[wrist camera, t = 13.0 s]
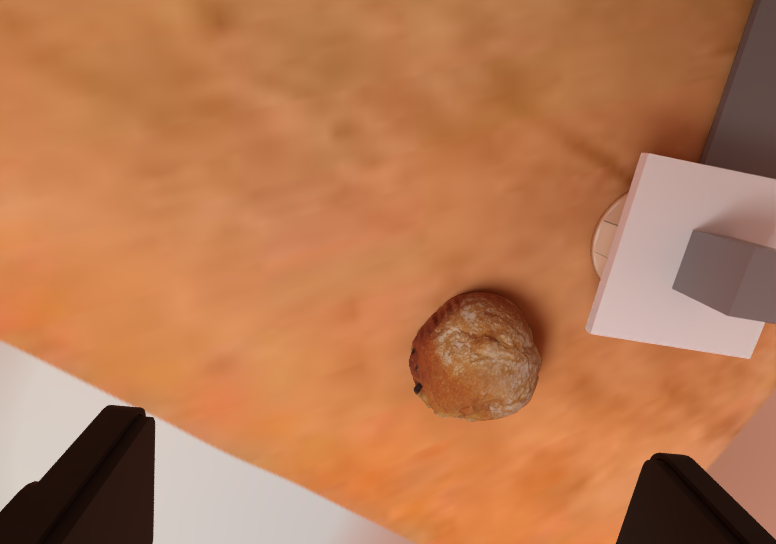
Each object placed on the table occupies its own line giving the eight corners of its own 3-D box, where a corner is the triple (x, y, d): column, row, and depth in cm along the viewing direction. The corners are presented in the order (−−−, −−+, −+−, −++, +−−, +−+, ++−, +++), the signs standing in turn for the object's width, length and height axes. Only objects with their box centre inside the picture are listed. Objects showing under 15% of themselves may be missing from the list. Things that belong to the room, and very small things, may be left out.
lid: (641, 152, 30) (706, 157, 25) (810, 187, 32) (908, 199, 26) (584, 329, 33) (631, 368, 28) (741, 353, 35) (815, 396, 29)
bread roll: (517, 356, 44) (587, 376, 37) (437, 436, 40) (498, 475, 33) (464, 268, 41) (528, 270, 34) (374, 346, 38) (424, 367, 31)
